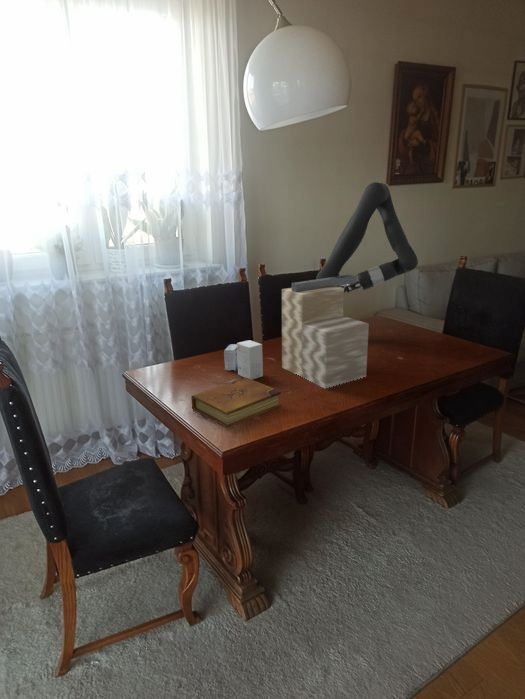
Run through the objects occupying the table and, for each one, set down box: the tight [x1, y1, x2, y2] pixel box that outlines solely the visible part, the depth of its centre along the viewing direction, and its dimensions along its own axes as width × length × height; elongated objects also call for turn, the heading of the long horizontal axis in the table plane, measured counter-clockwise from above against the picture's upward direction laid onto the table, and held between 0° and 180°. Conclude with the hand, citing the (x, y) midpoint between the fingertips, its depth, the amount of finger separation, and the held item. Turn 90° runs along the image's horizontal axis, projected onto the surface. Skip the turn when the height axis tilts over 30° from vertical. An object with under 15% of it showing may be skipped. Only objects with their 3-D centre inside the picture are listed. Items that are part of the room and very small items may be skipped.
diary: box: [191, 377, 282, 428], centre depth 167 cm, size 23×19×6 cm
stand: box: [281, 286, 370, 389], centre depth 192 cm, size 27×20×32 cm
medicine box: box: [223, 343, 238, 372], centre depth 203 cm, size 8×4×9 cm, turn 168°
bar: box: [291, 273, 358, 292], centre depth 195 cm, size 3×30×3 cm, turn 123°
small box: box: [236, 339, 264, 380], centre depth 193 cm, size 8×6×13 cm
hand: (334, 292), depth 215 cm, fingers open, 8 cm apart
